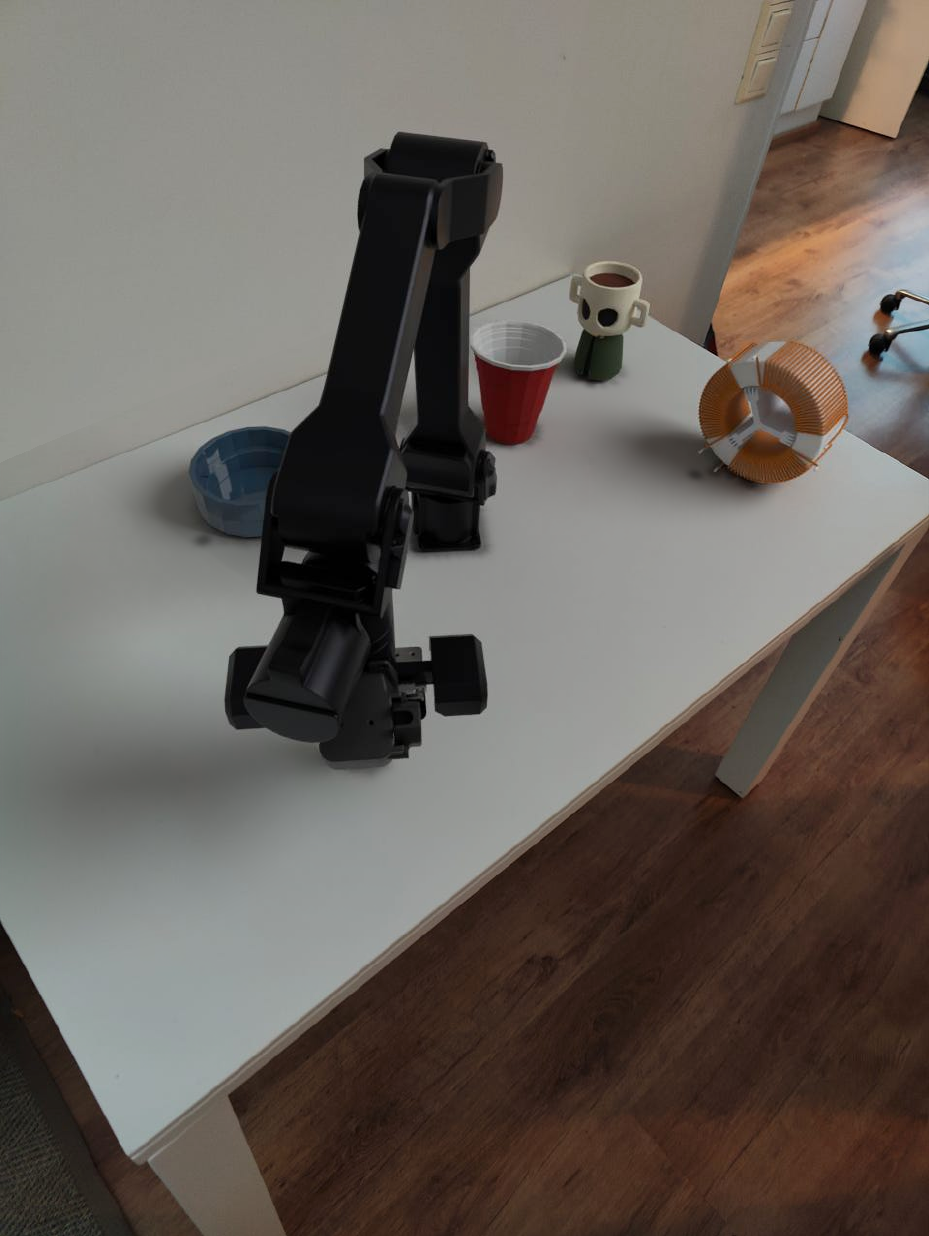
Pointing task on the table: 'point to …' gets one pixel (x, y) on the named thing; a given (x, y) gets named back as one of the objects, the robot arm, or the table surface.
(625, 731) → the table surface
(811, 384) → the coil
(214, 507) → the bowl
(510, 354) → the plastic cup
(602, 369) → the character mug
